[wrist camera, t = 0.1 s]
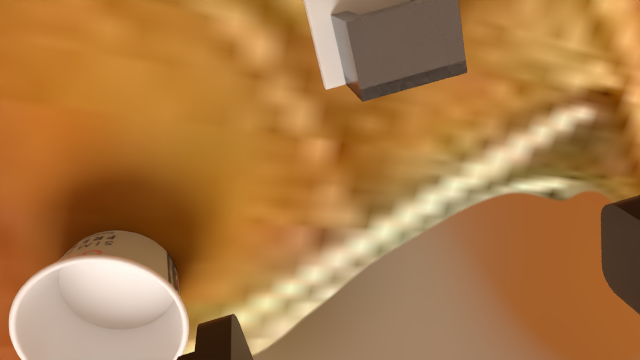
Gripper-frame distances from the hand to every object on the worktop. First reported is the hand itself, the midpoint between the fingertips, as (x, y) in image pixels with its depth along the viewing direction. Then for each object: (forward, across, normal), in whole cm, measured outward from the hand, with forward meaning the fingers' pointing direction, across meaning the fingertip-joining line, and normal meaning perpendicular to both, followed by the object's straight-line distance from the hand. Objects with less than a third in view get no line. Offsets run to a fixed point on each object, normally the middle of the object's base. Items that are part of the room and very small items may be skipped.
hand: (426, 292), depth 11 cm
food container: (+29, +18, +13) cm, 37 cm away
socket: (+29, -7, 0) cm, 30 cm away
